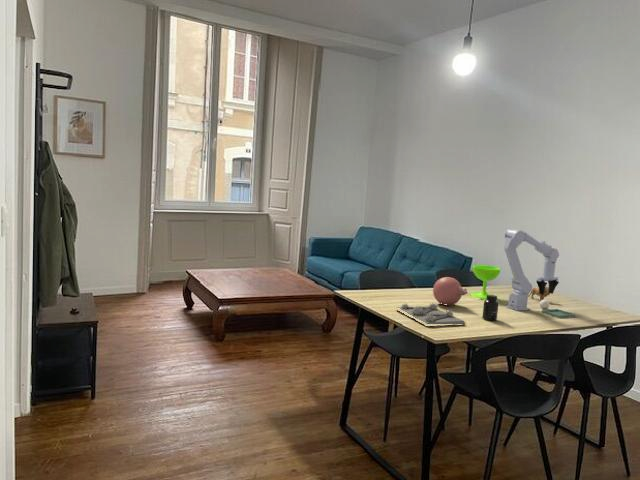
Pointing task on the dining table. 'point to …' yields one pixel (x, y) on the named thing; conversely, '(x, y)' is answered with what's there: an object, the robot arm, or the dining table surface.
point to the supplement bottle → (490, 308)
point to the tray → (558, 313)
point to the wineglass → (484, 277)
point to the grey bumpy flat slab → (431, 314)
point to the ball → (544, 304)
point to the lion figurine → (536, 291)
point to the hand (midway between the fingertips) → (546, 293)
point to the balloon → (448, 291)
